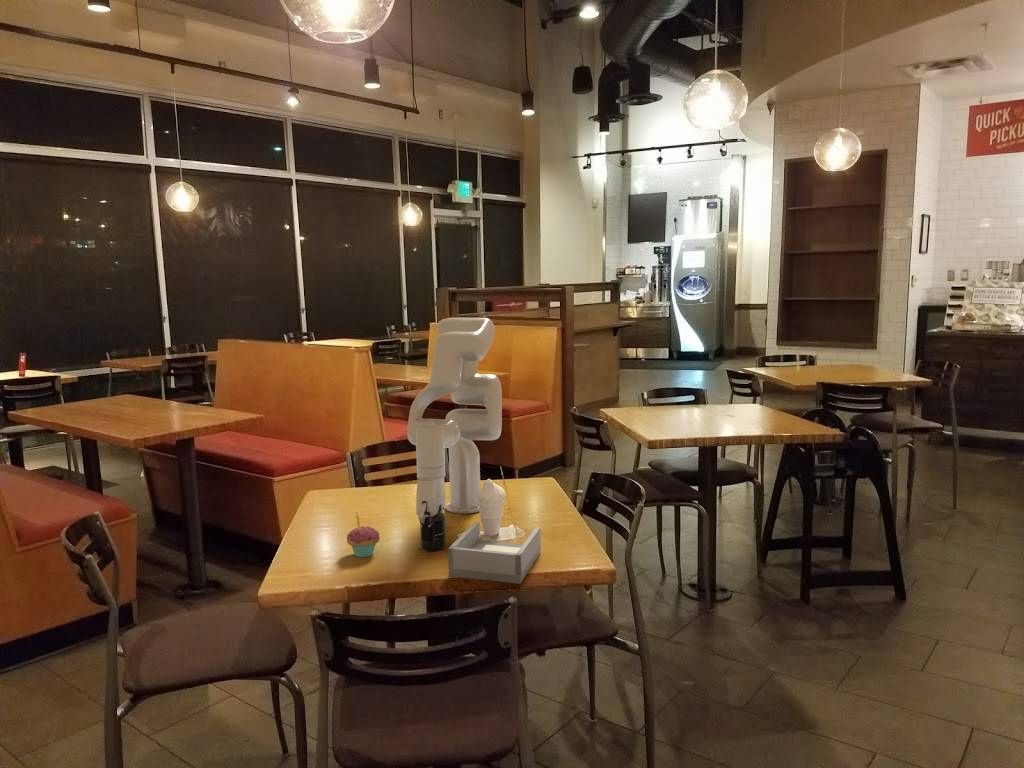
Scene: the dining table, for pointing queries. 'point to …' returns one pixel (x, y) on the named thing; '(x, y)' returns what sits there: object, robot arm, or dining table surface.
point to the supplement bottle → (436, 533)
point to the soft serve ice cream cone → (491, 507)
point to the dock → (492, 557)
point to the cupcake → (363, 540)
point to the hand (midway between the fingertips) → (433, 535)
